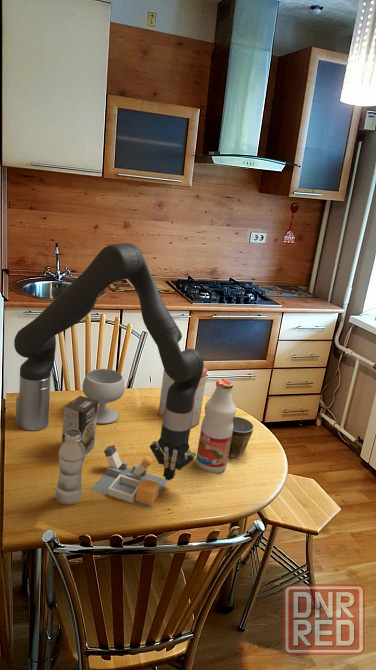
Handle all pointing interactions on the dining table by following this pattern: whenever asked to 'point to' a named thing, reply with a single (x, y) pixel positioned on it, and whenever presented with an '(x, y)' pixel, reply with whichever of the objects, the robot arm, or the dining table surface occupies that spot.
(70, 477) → the plastic bottle
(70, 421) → the coffee box
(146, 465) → the block
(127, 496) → the panel
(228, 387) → the fruit juice
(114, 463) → the breaker
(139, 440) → the dining table surface
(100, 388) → the chalice
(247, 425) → the ceramic cup
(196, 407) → the cracker box
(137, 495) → the orange cube
